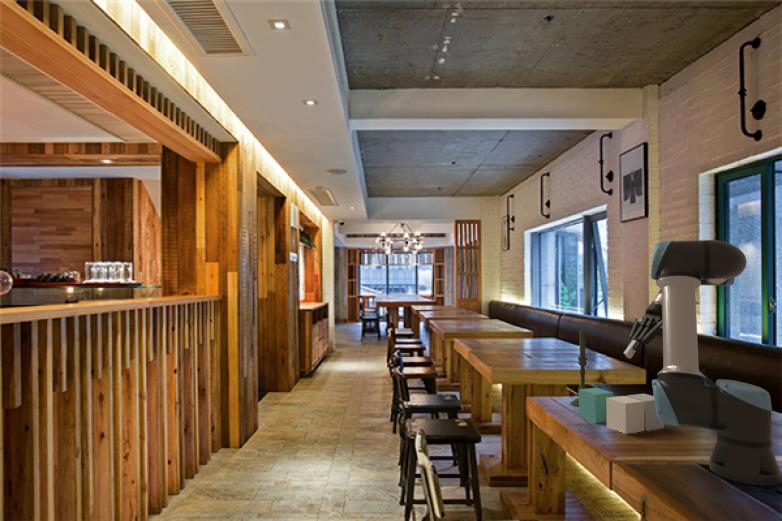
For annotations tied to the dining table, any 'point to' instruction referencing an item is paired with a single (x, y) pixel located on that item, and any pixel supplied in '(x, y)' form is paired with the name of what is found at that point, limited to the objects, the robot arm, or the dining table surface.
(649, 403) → the grey block
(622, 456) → the dining table surface
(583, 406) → the teal block
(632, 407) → the cream block
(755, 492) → the dining table surface
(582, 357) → the candlestick holder
